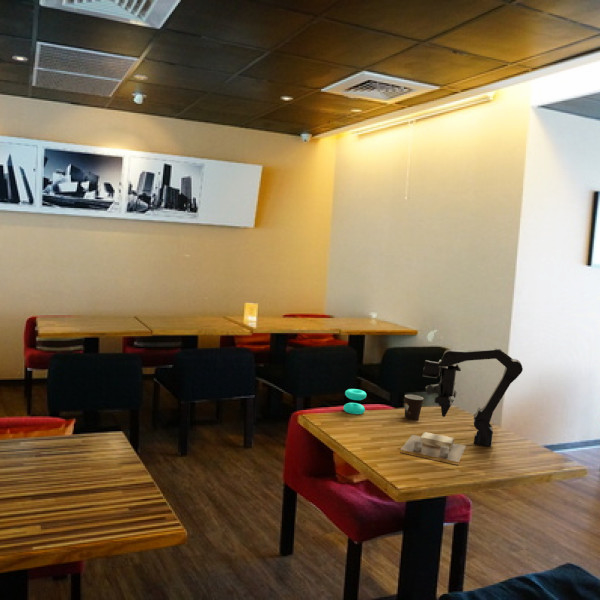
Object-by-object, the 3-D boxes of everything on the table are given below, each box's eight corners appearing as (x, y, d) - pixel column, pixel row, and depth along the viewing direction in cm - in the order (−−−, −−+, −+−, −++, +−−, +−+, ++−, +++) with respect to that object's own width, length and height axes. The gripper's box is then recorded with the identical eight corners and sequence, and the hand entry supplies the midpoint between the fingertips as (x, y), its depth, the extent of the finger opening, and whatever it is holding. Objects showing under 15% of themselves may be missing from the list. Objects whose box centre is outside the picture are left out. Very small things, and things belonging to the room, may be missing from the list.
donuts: (363, 395, 284) (342, 391, 287) (361, 416, 285) (340, 412, 288) (369, 390, 293) (349, 387, 297) (367, 411, 294) (346, 407, 298)
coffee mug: (422, 421, 285) (425, 400, 284) (403, 419, 286) (406, 398, 285) (418, 414, 297) (420, 394, 296) (400, 412, 297) (402, 392, 296)
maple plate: (453, 443, 252) (454, 437, 252) (450, 449, 244) (451, 443, 244) (423, 437, 256) (424, 431, 256) (419, 443, 249) (420, 437, 249)
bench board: (465, 449, 251) (467, 437, 251) (458, 466, 231) (459, 453, 230) (411, 438, 259) (413, 426, 259) (399, 453, 239) (401, 440, 238)
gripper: (432, 372, 269) (428, 408, 270) (424, 380, 251) (419, 418, 253) (458, 377, 265) (454, 412, 266) (452, 385, 247) (447, 423, 249)
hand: (443, 416), depth 259 cm, fingers closed
